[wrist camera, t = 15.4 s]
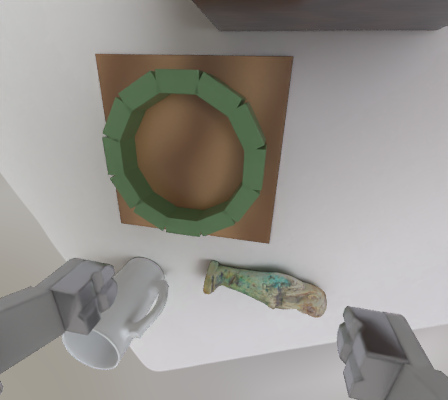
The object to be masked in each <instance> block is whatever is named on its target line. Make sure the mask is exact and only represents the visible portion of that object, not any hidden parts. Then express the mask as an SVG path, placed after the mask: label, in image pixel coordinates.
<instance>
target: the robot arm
mask: <svg viewBox="0 0 448 400" xmlns="http://www.w3.org/2000/svg"><path fill="white" fill-rule="evenodd" d="M114 274H115V271H114V267H113V266H112V265H110V264H105V263H100V262H95V261H90V260H84V259H79V258H73V259H70V260H69V261H67V262H66V263H65V264H64V265H63V266H61V267H60V268H58V269H57V270H56V271H55V272H53V273H52V274H51V275H50V276H48V277H47V278H46V279H44V280H43V281H42V282H41V283H39V284H38V285H37V286H35V287H28V288H25V289H23V290H20V291H17V292H15V293H12V294H9V295H7V296H4V297H2V298H0V374H1V373H3V372H4V371H6V370H7V369H9V368H10V367H12V366H14V365H15V364H17V363H18V362H20V361H21V360H23V359H24V358H26V357H28V356H29V355H31V354H32V353H34V352H35V351H37V350H39V349H40V348H42V347H43V346H45V345H46V344H48V343H50V342H51V341H53V340H54V339H56V338H57V337H59V336H60V335H62V334H64V333H65V331H68V332H73V333H78V334H83V335H88V334H89V333H90V332H91V331H92V329H93V328H94V327H95V326H96V324H97V323H98V322H99V321H100V319H101V313H102V312H104V311H106V310H108V309H109V308H110V307H111V305H112V304H113V303H114V301H115V298H116V296H117V291H118V286H117V282H116V281H115V280H114V279H113V276H114ZM343 317H344V321H345V322H344V323H342V324H340V326H339V329H338V334H337V346H338V352H339V357H340V359H341V360H342V361H343V362H344V363H345V364H346V366H345V369H344V371H343V374H344V378H345V382H346V387H347V391H348V395H349V397H350V398H354V399H357V400H448V377H447V376H446V375H445V374H444V373H442V372H441V371H438V370H434V368H433V366H432V364H431V363H430V361H429V359H428V357H427V356H426V354H425V352H424V350H423V349H422V347H421V345H420V343H419V342H418V340H417V338H416V337H415V335H414V333H413V331H412V329H411V328H410V326H409V324H408V322H407V321H406V319H405V318H404V317H403V316H402V315H399V314H393V313H387V312H380V311H374V310H368V309H362V308H356V307H350V306H347V307H346V308H345V310H344V313H343ZM2 391H3V385H2V383H1V381H0V394H1V393H2Z"/></svg>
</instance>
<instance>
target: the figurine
mask: <svg viewBox="0 0 448 400" xmlns="http://www.w3.org/2000/svg"><path fill="white" fill-rule="evenodd" d="M221 285H223V286H226V287H228V288H231V289H233V290H236V291H239V292H241V293H244V294H246V295H248V296H250V297H252V298H254V299H256V300H259V301H261V302H263V303H265V304H266V305H268V307H270V308H272V309H274V308H279V309H297V310H298V311H300V312H302V313H305V314H308V315H310V316H312V317H321V316H322V315H323V314H324V312H325V310H326V306H327V300H326V295H325V292H324V291H323V290H322V289H320V288H318V287H316V286H313V285H311V284H308V283H304V282H301V281H300V280H298V279H296V278H294V277H292V276H289V275H286V274H283V273H278V272H259V271H251V270H245V269H236V268H232V267H226V266H221V265H219V263H218V262H216V261H211V263H210V265H209V268H208V270H207V274H206V278H205V282H204V288H203V291H204V293H205V294H210V293H211V292H214V290H215V289H216V288H217V287H218V286H221Z"/></svg>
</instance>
